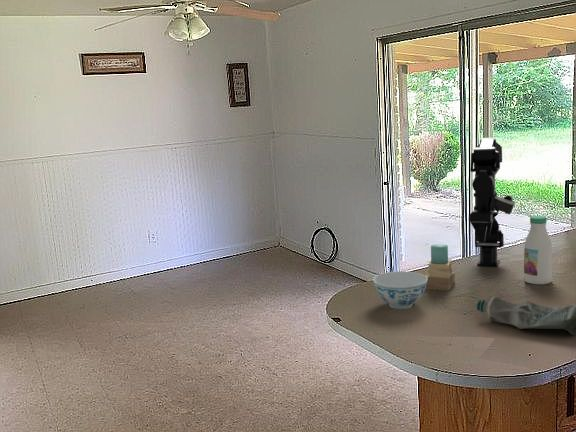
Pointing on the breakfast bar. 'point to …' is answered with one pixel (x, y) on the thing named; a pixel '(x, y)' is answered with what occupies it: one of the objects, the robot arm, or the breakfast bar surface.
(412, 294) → the chinaware
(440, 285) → the base block
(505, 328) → the breakfast bar surface
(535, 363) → the breakfast bar surface
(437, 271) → the top block
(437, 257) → the teal cylinder
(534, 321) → the crushed plastic bottle
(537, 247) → the milk bottle
